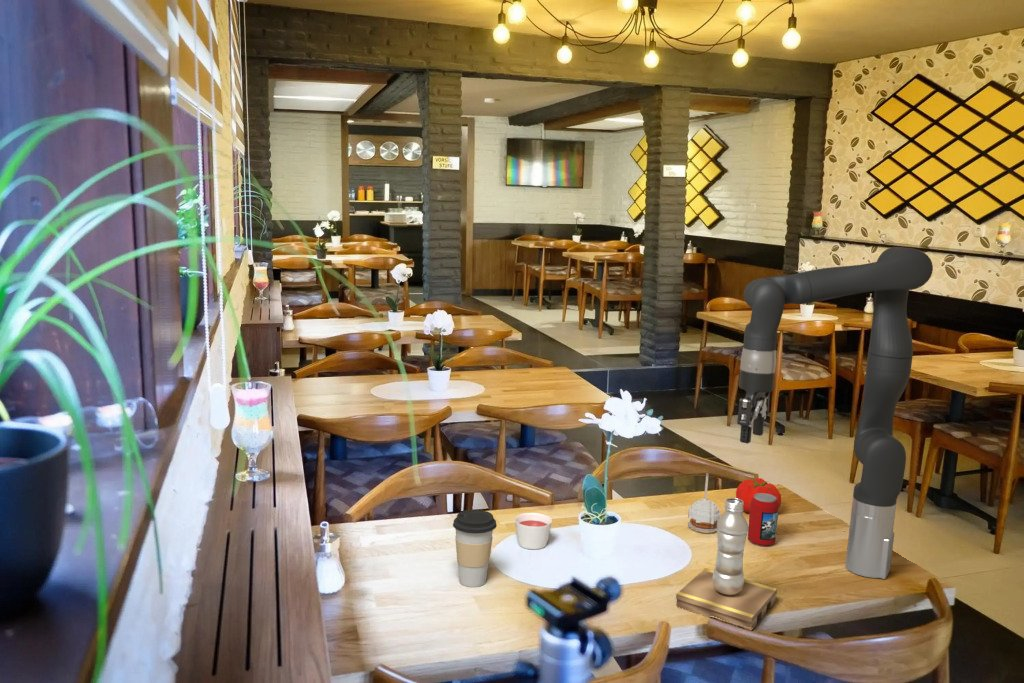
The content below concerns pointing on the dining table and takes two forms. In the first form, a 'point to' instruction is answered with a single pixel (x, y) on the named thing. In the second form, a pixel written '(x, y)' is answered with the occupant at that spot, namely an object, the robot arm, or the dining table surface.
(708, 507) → the decorative ornament
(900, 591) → the dining table surface
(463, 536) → the coffee cup
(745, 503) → the tomato
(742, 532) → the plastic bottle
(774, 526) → the beverage can
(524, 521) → the candle
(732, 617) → the dock
